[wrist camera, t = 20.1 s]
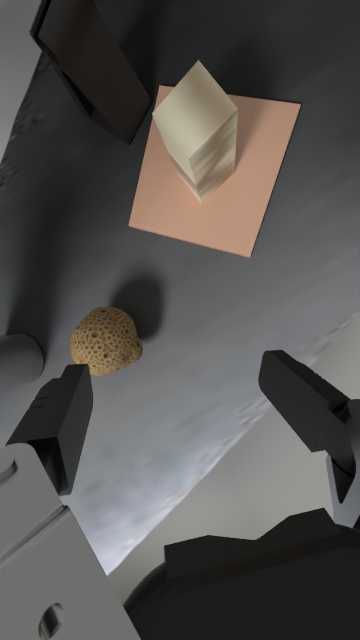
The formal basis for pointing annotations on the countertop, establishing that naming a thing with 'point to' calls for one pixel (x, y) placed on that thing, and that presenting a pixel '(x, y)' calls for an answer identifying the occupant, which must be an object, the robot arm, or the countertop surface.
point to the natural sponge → (105, 341)
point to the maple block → (199, 131)
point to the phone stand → (91, 65)
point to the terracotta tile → (229, 198)
